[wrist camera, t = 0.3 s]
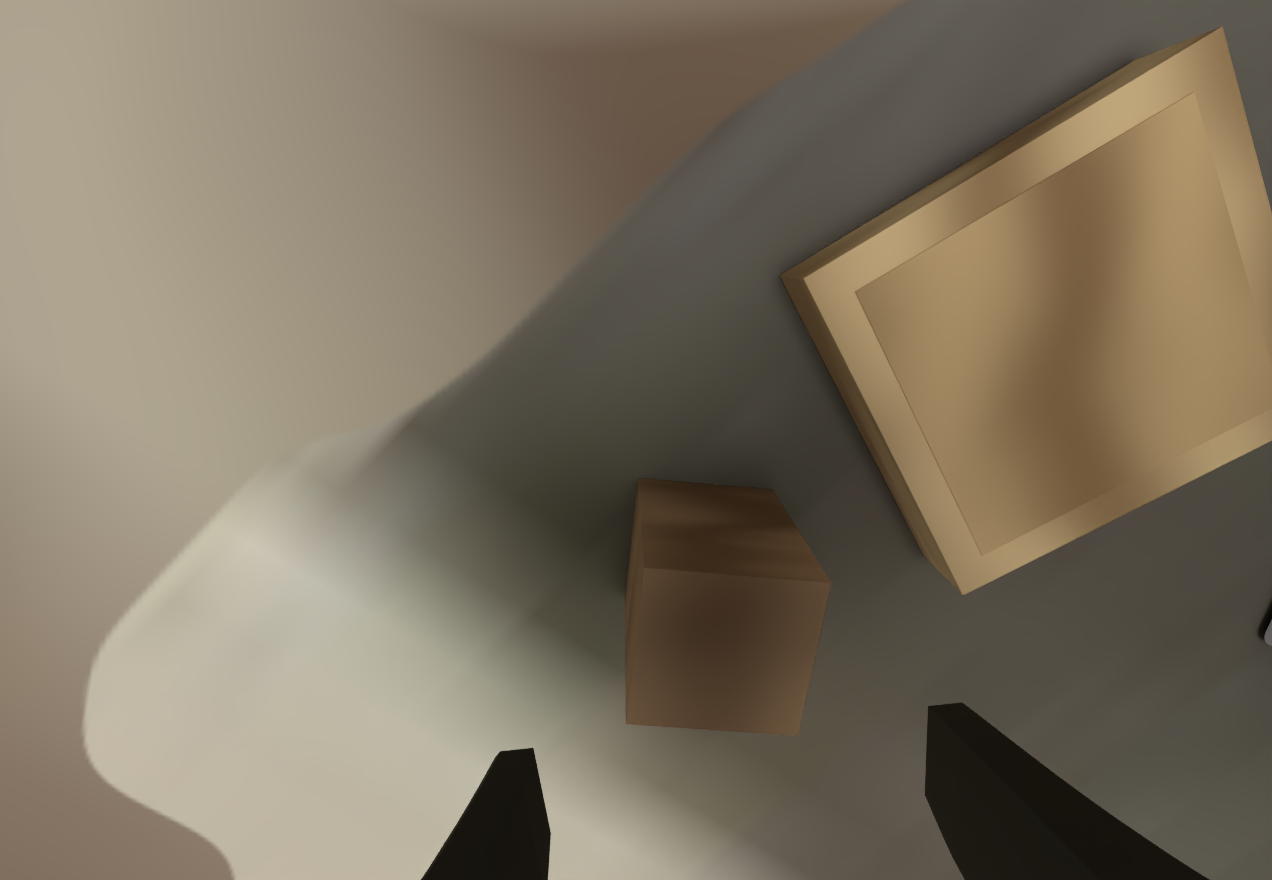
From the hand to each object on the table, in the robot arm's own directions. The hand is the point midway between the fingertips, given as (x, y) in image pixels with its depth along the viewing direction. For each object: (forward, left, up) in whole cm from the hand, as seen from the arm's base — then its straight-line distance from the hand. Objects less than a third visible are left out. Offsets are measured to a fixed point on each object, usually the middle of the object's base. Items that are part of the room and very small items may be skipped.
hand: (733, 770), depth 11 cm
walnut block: (-1, +1, -10) cm, 10 cm away
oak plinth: (-10, -7, -10) cm, 16 cm away
